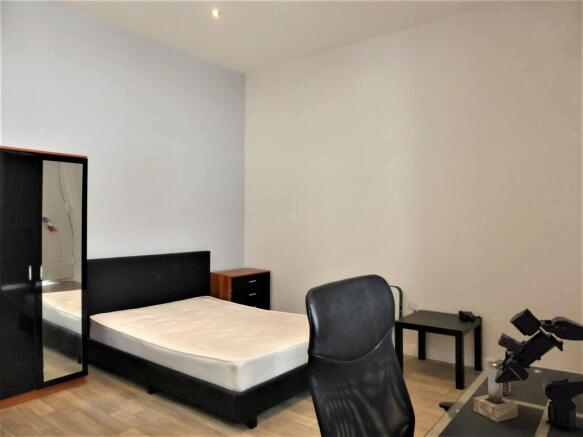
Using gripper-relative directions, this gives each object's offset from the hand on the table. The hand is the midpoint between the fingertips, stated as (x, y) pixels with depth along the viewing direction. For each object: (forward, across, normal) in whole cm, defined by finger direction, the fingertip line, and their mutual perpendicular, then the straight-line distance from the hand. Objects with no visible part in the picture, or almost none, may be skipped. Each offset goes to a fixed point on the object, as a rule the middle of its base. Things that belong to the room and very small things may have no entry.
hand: (495, 377), depth 133 cm
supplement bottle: (+7, -20, +9) cm, 23 cm away
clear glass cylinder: (+6, 0, +6) cm, 8 cm away
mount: (+8, 0, +8) cm, 11 cm away
